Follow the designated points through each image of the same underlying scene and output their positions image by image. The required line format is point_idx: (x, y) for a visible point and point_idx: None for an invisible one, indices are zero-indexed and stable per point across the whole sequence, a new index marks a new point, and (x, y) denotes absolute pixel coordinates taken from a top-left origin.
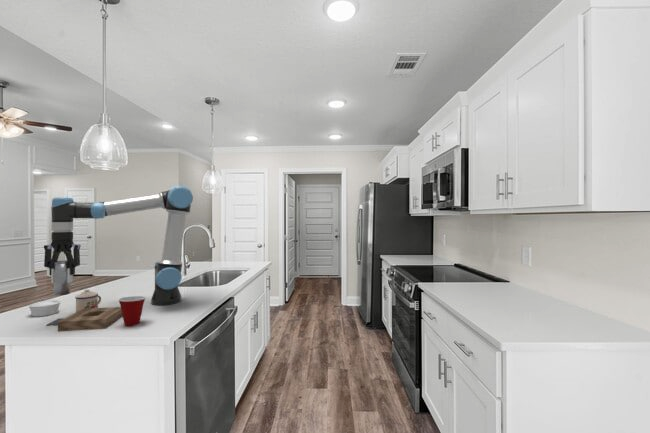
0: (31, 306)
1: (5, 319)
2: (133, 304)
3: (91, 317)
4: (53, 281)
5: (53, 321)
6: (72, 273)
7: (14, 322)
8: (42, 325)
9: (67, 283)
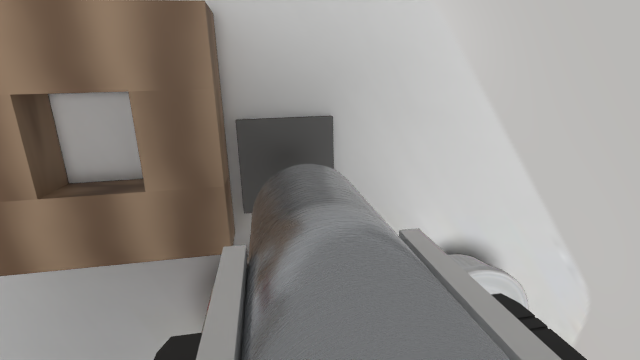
0: (507, 275)
1: (556, 229)
2: None
3: (30, 59)
4: (407, 240)
5: (328, 161)
6: (167, 357)
7: (501, 185)
8: (354, 126)
9: (251, 247)
